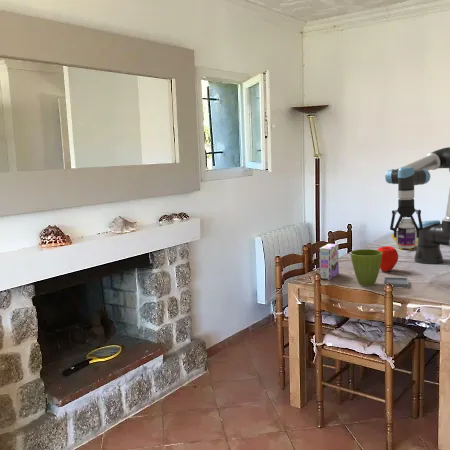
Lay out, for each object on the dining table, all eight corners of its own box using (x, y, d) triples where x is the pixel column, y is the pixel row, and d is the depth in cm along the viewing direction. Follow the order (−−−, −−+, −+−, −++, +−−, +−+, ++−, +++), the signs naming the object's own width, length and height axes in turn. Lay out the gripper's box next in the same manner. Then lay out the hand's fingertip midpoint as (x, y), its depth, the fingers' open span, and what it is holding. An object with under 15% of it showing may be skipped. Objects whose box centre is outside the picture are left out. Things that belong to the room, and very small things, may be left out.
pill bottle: (395, 246, 258) (395, 218, 255) (410, 245, 258) (410, 217, 256) (402, 249, 250) (401, 220, 247) (417, 248, 250) (417, 219, 248)
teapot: (425, 246, 327) (426, 229, 325) (419, 252, 312) (420, 234, 310) (394, 244, 338) (394, 228, 336) (386, 250, 323) (386, 232, 321)
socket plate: (407, 281, 250) (407, 277, 249) (408, 287, 239) (408, 283, 239) (384, 281, 253) (384, 277, 253) (384, 287, 242) (384, 283, 242)
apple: (398, 274, 265) (398, 248, 263) (374, 273, 269) (374, 248, 267) (398, 268, 276) (398, 244, 274) (376, 267, 280) (376, 244, 278)
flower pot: (346, 286, 247) (346, 254, 244) (356, 279, 259) (355, 248, 257) (377, 289, 239) (377, 256, 236) (385, 281, 251) (385, 250, 249)
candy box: (330, 280, 259) (329, 248, 257) (319, 279, 262) (318, 248, 260) (339, 273, 271) (338, 243, 268) (328, 272, 274) (328, 243, 271)
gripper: (428, 197, 251) (428, 242, 254) (384, 198, 257) (384, 242, 260) (429, 199, 244) (429, 245, 247) (384, 200, 250) (384, 245, 253)
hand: (406, 243), depth 254 cm, fingers closed on pill bottle, 8 cm apart
